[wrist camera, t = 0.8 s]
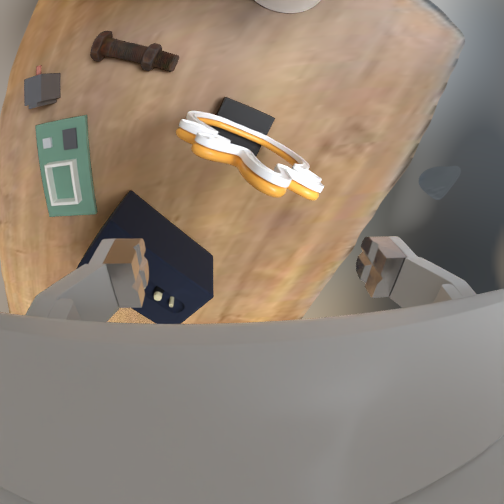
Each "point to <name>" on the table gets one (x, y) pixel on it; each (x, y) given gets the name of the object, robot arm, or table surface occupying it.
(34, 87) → the plug
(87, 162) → the board
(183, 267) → the speaker
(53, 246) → the table surface
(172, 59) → the bolt
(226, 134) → the lamp
